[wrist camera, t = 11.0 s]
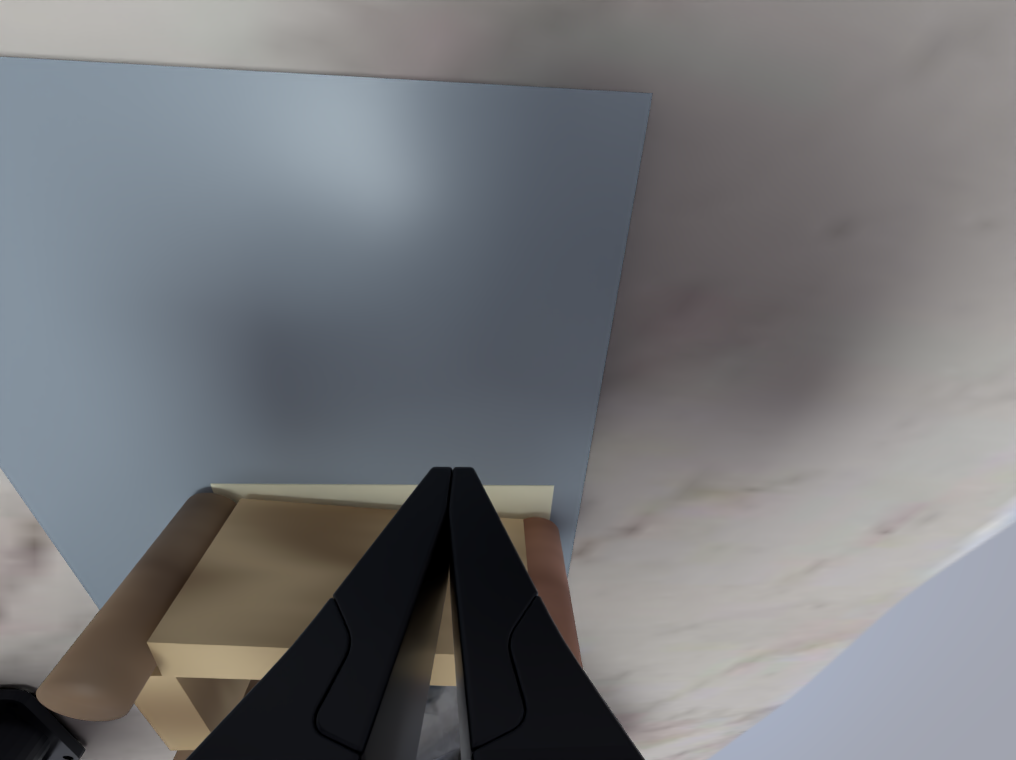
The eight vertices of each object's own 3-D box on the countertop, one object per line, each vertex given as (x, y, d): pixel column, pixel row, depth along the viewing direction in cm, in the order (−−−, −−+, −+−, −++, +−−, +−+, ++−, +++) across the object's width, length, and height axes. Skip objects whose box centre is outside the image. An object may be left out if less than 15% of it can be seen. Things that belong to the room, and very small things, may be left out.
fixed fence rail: (293, 636, 18) (233, 793, 14) (248, 636, 18) (175, 795, 14) (258, 535, 15) (168, 697, 11) (204, 535, 15) (92, 698, 11)
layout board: (555, 629, 20) (556, 639, 19) (130, 635, 19) (123, 646, 18) (646, 94, 10) (653, 93, 9) (-267, 43, 9) (-302, 39, 8)
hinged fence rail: (191, 530, 15) (53, 720, 10) (178, 490, 14) (22, 678, 9) (553, 554, 16) (580, 731, 11) (563, 519, 15) (598, 696, 10)
